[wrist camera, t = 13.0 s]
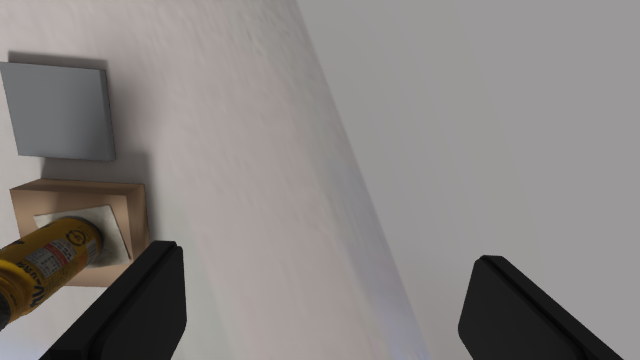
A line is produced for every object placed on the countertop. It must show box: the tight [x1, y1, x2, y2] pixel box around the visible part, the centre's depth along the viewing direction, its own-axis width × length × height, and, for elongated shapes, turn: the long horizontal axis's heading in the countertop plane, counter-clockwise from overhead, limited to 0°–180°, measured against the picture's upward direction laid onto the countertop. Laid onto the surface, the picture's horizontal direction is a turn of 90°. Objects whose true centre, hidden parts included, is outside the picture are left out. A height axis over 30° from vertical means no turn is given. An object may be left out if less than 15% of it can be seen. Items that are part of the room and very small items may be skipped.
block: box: [9, 179, 150, 287], centre depth 37 cm, size 12×12×4 cm
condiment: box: [0, 205, 130, 331], centre depth 29 cm, size 7×8×12 cm
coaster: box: [0, 62, 116, 161], centre depth 34 cm, size 10×10×1 cm
